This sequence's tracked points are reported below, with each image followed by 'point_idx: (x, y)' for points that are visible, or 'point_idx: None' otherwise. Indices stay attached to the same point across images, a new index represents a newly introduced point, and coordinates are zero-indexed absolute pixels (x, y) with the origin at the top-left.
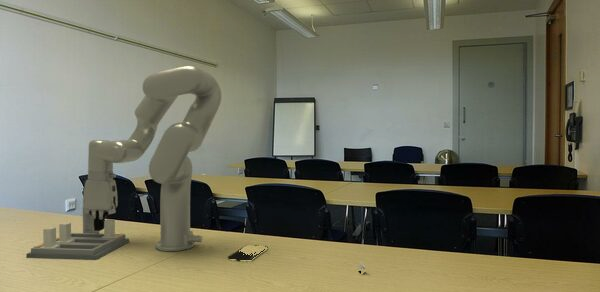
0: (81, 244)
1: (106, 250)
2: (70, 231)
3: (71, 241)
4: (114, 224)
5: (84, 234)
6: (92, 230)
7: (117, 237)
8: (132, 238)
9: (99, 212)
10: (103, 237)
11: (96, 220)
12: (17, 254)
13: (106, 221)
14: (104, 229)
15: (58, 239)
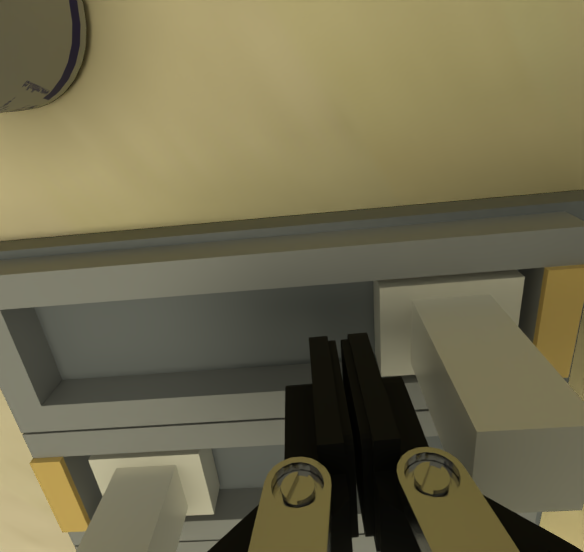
0: (356, 545)
1: (541, 513)
2: (155, 539)
3: (208, 483)
4: (554, 377)
5: (130, 296)
6: (35, 81)
7: (564, 375)
8: (571, 45)
9: (326, 549)
10: (407, 369)
11: (353, 532)
12: (8, 547)
13: (500, 502)
14: (434, 418)
15: (70, 471)
